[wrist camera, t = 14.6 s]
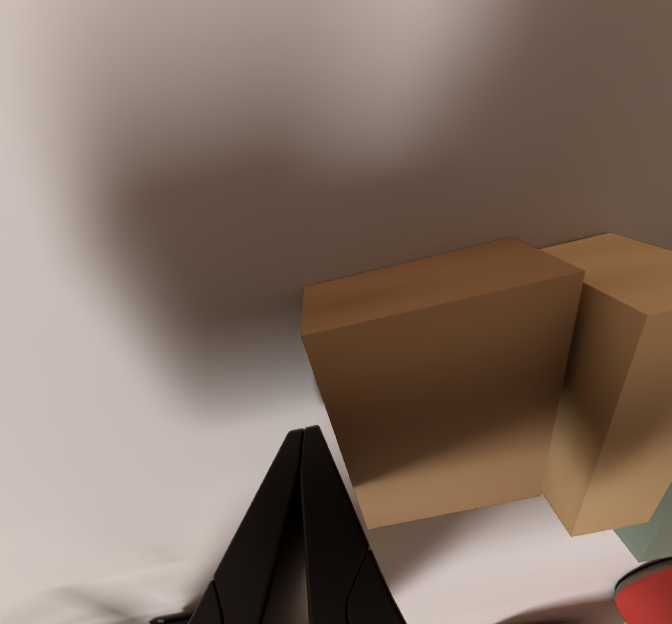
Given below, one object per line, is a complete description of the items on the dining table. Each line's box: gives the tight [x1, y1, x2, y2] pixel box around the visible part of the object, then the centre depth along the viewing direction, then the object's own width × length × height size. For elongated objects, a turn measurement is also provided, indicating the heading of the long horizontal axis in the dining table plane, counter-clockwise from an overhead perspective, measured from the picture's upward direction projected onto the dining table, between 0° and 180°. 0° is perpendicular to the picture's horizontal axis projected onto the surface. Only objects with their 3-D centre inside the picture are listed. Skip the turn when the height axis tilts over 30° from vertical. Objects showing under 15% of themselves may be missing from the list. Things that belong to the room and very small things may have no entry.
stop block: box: [539, 233, 672, 537], centre depth 8 cm, size 7×2×3 cm, turn 13°
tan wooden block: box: [301, 237, 585, 529], centre depth 8 cm, size 7×5×2 cm
